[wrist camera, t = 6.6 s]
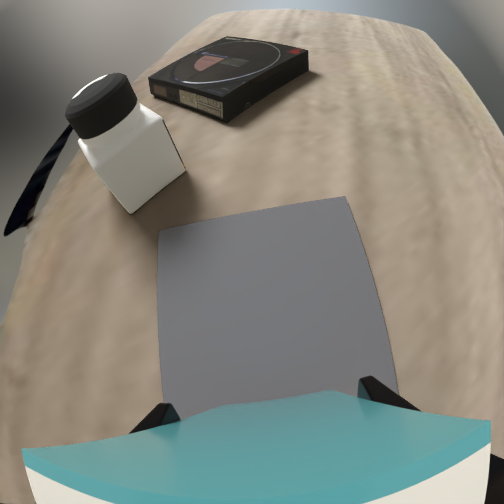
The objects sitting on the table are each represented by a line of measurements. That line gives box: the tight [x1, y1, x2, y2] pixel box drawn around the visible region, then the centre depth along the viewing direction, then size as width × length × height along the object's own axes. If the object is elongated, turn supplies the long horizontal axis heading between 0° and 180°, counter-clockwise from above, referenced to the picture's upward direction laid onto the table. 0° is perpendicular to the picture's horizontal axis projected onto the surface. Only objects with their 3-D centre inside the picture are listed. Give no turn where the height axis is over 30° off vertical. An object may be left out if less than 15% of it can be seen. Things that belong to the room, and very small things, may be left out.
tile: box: [21, 389, 491, 504], centre depth 7 cm, size 2×6×13 cm, turn 98°
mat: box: [157, 196, 398, 420], centre depth 16 cm, size 26×16×1 cm, turn 8°
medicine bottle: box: [65, 73, 186, 214], centre depth 21 cm, size 7×7×12 cm
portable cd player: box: [148, 36, 309, 123], centre depth 32 cm, size 16×17×4 cm
